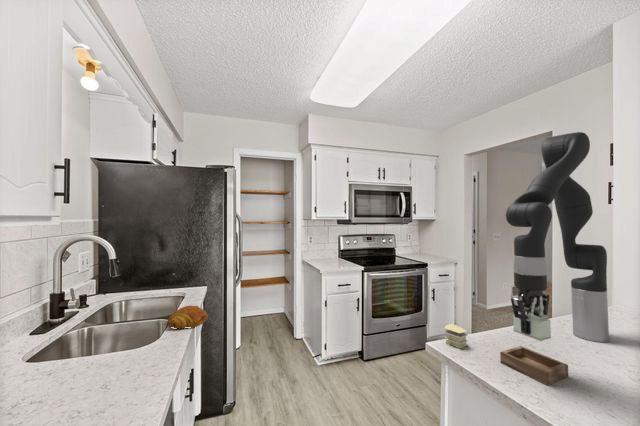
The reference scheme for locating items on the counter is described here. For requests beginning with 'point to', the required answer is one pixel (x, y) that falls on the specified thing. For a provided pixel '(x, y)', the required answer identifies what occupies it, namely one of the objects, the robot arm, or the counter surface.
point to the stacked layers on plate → (455, 336)
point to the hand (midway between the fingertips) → (531, 331)
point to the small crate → (535, 327)
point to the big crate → (534, 365)
